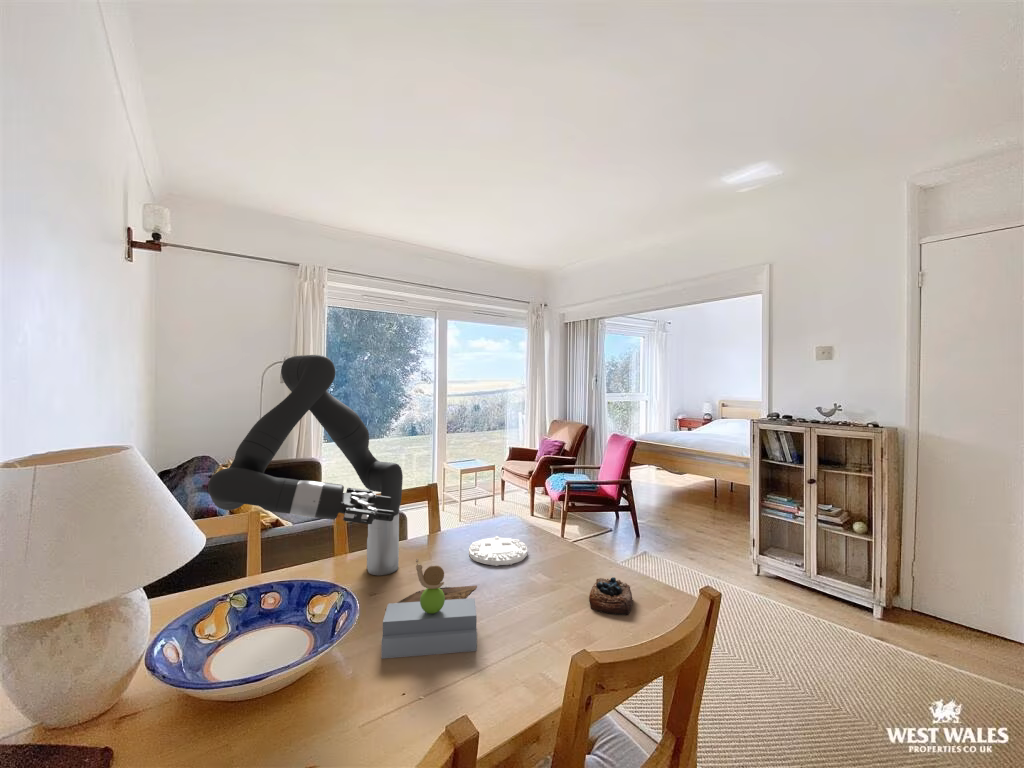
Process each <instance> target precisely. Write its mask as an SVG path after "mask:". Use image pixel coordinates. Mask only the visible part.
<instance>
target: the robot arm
mask: <svg viewBox="0 0 1024 768" xmlns="http://www.w3.org/2000/svg"><path fill="white" fill-rule="evenodd" d="M280 374H281V378H282V381H283V383H284V384H285V386H286V387H287V388H288V390H289V391H290V393H289V394H288V395H287V396H285V398H284V399H283V400H282V401H280V402H279V403H278V404H277V405H275V406H274V407H273V408H271V409H270V410H269V411H268V412H266V413H265V414H264V415H262V417H261V418H260V419H259V420H258V421H256V423H254V424H253V426H252V427H251V429H250V430H249V431H248V433H247V434H246V435H245V437H244V438H243V440H241V443H240V444H239V446H238V447H237V448H236V451H235V456H234V459H233V461H232V463H230V465H229V467H227V468H223V469H220V470H218V471H217V472H215V473H214V474H213V475H212V476H211V478H210V479H209V480H208V484H207V485H208V486H207V491H208V494H209V497H210V498H211V501H212V503H213V504H214V505H215V506H216V507H217V508H218V509H220V510H224V511H234V510H236V509H239V508H241V507H242V506H244V505H251V506H256V507H259V508H261V509H263V510H265V511H268V512H271V513H280V514H289V515H296V516H298V517H306V518H315V519H323V520H333V521H334V520H336V519H337V517H338V514H343V519H342V520H343V521H344V522H348V523H349V522H351V523H355V524H356V523H357V524H365V525H367V538H366V568H367V573H368V574H369V575H373V576H386V575H390V574H392V573H395V572H396V571H398V569H399V559H400V558H399V554H400V553H399V552H400V551H399V550H400V548H399V546H400V539H399V538H400V506H401V504H402V498H403V497H402V494H403V481H404V480H403V477H404V476H403V470H402V467H401V466H400V465H399V464H398V463H395V462H388V461H380V460H378V459H377V458H376V457H375V456H374V455H373V454H372V452H371V451H370V448H369V444H370V433H369V429H368V428H367V426H366V424H365V423H364V422H363V420H362V418H361V417H360V416H359V414H357V412H355V411H354V410H353V409H352V408H351V407H350V406H348V405H347V404H345V403H343V402H342V401H340V400H339V399H338V398H336V397H335V396H333V395H332V394H331V393H330V392H329V391H328V390H329V389H330V387H331V386H332V385H333V382H334V381H335V380H334V379H335V377H336V367H335V365H334V362H333V361H332V360H331V358H329V357H328V356H325V355H322V354H305V355H303V354H302V355H294V356H290V357H288V358H287V359H285V360H284V361H283V363H282V364H281V370H280ZM308 411H310V413H311V414H312V415H313V416H314V418H315V420H317V422H318V423H319V424H320V425H321V427H322V429H324V430H325V432H326V433H327V435H328V436H329V438H330V439H332V441H333V442H334V444H335V445H336V447H338V448H339V450H340V451H341V453H342V454H343V455H344V457H345V458H346V459H347V461H349V463H350V464H351V466H352V467H353V469H354V471H355V472H356V474H357V476H358V478H359V479H360V482H361V483H362V485H363V486H364V487H365V488H366V489H364V488H363V489H362V488H356V487H355V488H354V487H346V491H345V490H344V489H345V487H344V485H343V484H338V483H337V484H336V483H332V482H324V481H317V480H305V479H304V480H303V479H302V480H301V479H300V480H299V479H295V478H286V477H277V476H273V475H270V474H266V473H265V471H266V469H267V468H268V466H269V464H270V463H271V461H272V460H273V459H274V457H275V456H276V455H277V453H278V452H279V450H280V448H281V447H282V445H283V443H285V440H286V439H287V438H288V436H289V434H290V433H291V432H292V430H293V429H294V428H295V427H296V425H297V424H298V423H299V422H300V421H301V419H302V418H303V417H305V415H306V414H307V412H308ZM344 491H345V492H344ZM375 492H377V493H380V495H378V494H376V493H375Z"/></svg>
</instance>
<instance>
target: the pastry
mask: <svg viewBox="0 0 1024 768" xmlns="http://www.w3.org/2000/svg"><path fill="white" fill-rule="evenodd" d="M591 587H592V588H591V590H590V592H589V596H588V597H589V598H588V601H589V606H590V607H589V608H590V609H591V610H594V611H596V612H600V613H603V614H608V615H616V616H617V615H618V616H629V615H630V612H631V610H632V607H633V603H634V602H633V601H634V599H633V596H632V595H633V594H632V590H631V586H630V584H628V583H626V582H623V581H621V580H620V579H617V578H616V577H611V578H610V579H609V578H604V577H603V578H602V577H600V578H596V581H595V583H594V584H593V586H591ZM632 599H633V600H632Z"/></svg>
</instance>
